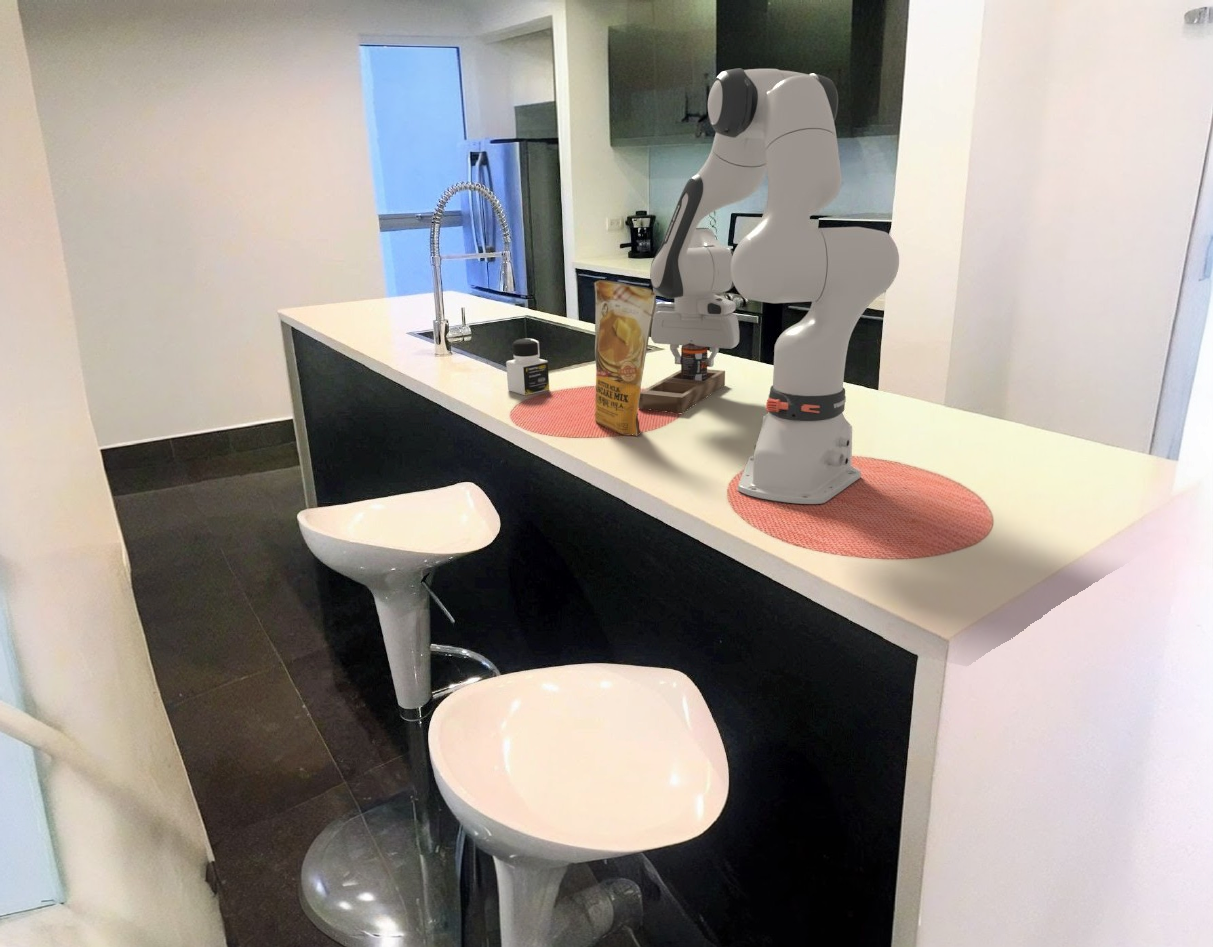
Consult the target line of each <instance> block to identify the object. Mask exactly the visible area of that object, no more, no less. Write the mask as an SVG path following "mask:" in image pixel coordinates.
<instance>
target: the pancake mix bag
mask: <svg viewBox="0 0 1213 947" xmlns="http://www.w3.org/2000/svg"><path fill="white" fill-rule="evenodd" d="M593 287H594V303H595V304H594V310H595V316H594V317H595V318H594V319H595V320H594V323H595V324H594V333H595V335H594V336H595V337H594V338H595V339H594V356H595V372H596V374H595V395H594V396H595V398H594V399H595V400H594V401H595V404H594V405H595V410H594V411H595V412H594V418H595V419H594V421H595V422H596V423H597V424H599V425H601V426H603V427H604V426H605V428H607V429H608V428H609V429H608V430H611V431H613V430H614V431H613V432H615V433H616V432H618V433H617V434H619V433H620V434H619V435H621V434H624V435H623V436H627V435H626V434H633V435H632V436H634V435H635V436H636V437H638V436H639V435H640V434H641V433H640V432H641V429H640V421H639V418H638V415H639V414H638V412H639V411H638V410H639V409H638V404H639V398H640V392H641V389H642V388H641V387H642V381H643V375H644V368H645V363H646V356H647V351H648V347H649V340H650V335H651V329H652V322H653V315H654V312H655V306H656V304H657V297H656V296H657V294H655V292H654V291H653V289H651V288H648V287H644V286H636V285H633V284H632V285H631V284H627V283H625V282H624V283H623V282H619V281H612V280H603V279H602V280H601V279H599V280H597V281H595V282H593ZM656 307H657V306H656ZM639 433H640V434H639ZM638 434H639V435H638ZM635 436H634V437H635Z"/></svg>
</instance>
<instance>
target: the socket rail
mask: <svg viewBox="0 0 1213 947" xmlns="http://www.w3.org/2000/svg"><path fill="white" fill-rule="evenodd" d="M724 385H725V386H726V371H725V370H721V369H720V370H718V369H708V368H707V379H706V380H705V381H698V380H687V379H681V369H680V370H678V371H676V372H674V373H673V374H670V375H669V376H667V377H665V378H664V379H661V380H660V381H658V382H656V383H654V384H652V385H651V386H649V387H647V388H645V389H644V390H642V391H641V390H640V398H639V404H638V408H640V409H639V410H642V409H651V410H657V411H656V412H660V411H667V412H666V413H669V412H673V413H672V414H678V413H682V414H684V413H685V412H687V411H688V410H690V409H691V408H693V407H694V406H696V405H697V404H699V403H701V402H702V401H704V400H705V399H707V398H708V397H710V396H711V395H712V393H713V392H714V393H716V392H717V391H719V390H720V389H722V388H723V387H725V386H724ZM722 386H723V387H722ZM721 387H722V388H721ZM719 388H720V389H719ZM718 389H719V390H718ZM716 390H717V391H716ZM715 391H716V392H715ZM714 393H713V394H714ZM710 394H711V395H710ZM709 395H710V396H709ZM707 396H708V397H707ZM706 397H707V398H706ZM703 399H704V400H703ZM695 404H696V405H695ZM693 405H694V406H693ZM692 406H693V407H692ZM690 407H691V408H690ZM689 408H690V409H689ZM687 409H688V410H687ZM651 410H650V411H651ZM683 412H684V413H683Z"/></svg>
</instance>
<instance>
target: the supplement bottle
mask: <svg viewBox="0 0 1213 947" xmlns="http://www.w3.org/2000/svg"><path fill="white" fill-rule="evenodd" d="M708 348H709V347H700V346H696V345H694V344H691V343H689V344H686V345H681V348H680V349H681V350H680V351H681V352H680V355H681V364H680V370H681V379H687V380H698V381H705V380H706V379H707V369H708V367H706V366H705V359H706V358H708Z"/></svg>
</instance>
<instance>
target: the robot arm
mask: <svg viewBox="0 0 1213 947" xmlns="http://www.w3.org/2000/svg"><path fill="white" fill-rule="evenodd" d="M838 109H839V94H838V90H837V87H836V86H835V83H834V81H833V80H831V79H830V78H829V77H827V76H824V75H821V74H817V73H809V74H808V73H803V72H796V71H791V70H782V69H778V68H754V69H753V68H751V69H749V68H748V69H743V68H733V69H731V68H730V69H727V70H724V71H721V72H720V73H719V74H718V75H717V76H716V78H715V79H714V80H713V82H712V84H711V86H710V90H709V94H708V99H707V112H708V114H707V115H708V116H707V117H708V121H709V125H710V126H711V128H713V131H714V132H715V135H714V137H713V142H712V146H711V150H710V152H709V155H708V158H707V159H706V161H705V163H704V164H703V165H702V166H701V168H700V170H698V172H696V174H695V175H693V176H692V177H690V178H689V179H688V181H687V182H686V183H685V185H684V187H683V190H682V192H681V195H680V197H679V199H678V202H677V205H676V206H675V209H674V212H673V214H672V216H671V219H670V221H669V224H668V228H667V230H666V233H665V235H664V238H663V240H662V243H661V245H660V247H659V249H658V250H657V251H656V254H655V255H654V257H653V259H652V261H651V264H650V269H649V272H650V273H649V276H650V277H649V278H650V283H651V286H652V288H653V289H654V290H655V291H656V292H657V293H658V294H659V295H661V297H663V298H665V299H666V300H672V299H674V302H663V301H660V302H657V303H656V306H655V312H654V315H653V319H652V323H651V328H650V338H651V341H652V342H653V344H658V345H669V350H670V352H671V354H672V355H673V357H674V364H675V365H681V353H680V352H679V348H680V346H682V345H686V344H689V343H691V344H694V345H696V346H700V347H707V348H709V353H711V354H710V355H709V357H707V358H706V359H705V366H706V367H707V368H712V367H713V366H714V364H715V362H714V361H715V357H716V356H717V354H719V351H720V349H733V348H735V347H737V345H738V344H739V343H740V327H739V319H738V317H737V315H736V314H735V313H734V311H736V309H737V308H736V306H737V305H736V303H735V301H733V300H730V299H727V298H724V297H722V296H720V295H717V294H721V293H725V292H728V291H730V290H731V289H733V287H735V289H736V291H737V292H738V293H739V294H740V295H741V297H743V299H745V300H751V301H754V302H755V301H756V302H763V303H769V304H786V303H788V304H789V303H806V302H811V305H810V308H809V310H808V312H807V313H806V314H805V316H803V318H802V319H801V320H800V321H799V322H797V323H795V324H793V325H791V326H790V327H788V328H786V329H785V330H784V331H783V332H782V333H781V334H780V335H779V337H777V339H776V342H775V344H774V350H773V352H774V356H773V375H772V376H773V377H772V385H771V386H770V389H769V394H768V398H767V400H766V404H765V409H766V411H767V412H768V413H766V414H764V415H763V417H762V424H761V428H760V431H759V435H758V438H757V441H756V443H755V445H754V452H753V455H750V456H749V457H748V458H747V461H746V464H745V467H744V469H743V471H742V474H741V476H740V478H739V481H738V485H737V491H738V492H740V493H742V494H744V495H747V496H751V497H755V498H758V499H763V500H768V501H773V502H782V503H788V504H790V503H791V504H803V505H818V504H821V505H822V504H824V503H825V504H826V503H827V502H828V501H830V500H831V499H832V498H833V497H835V496H836V495H838V494H839V493H841V492H842V491H844V490H845V489H846V488H847V487H849V486H851V485H852V484H853V483H854V482H856V481H858V480H859V479H861V477H862V476H861V475H862V471H861V470H860V469H859V468H857V467H855V466H852V458H853V456H852V454H853V425H852V424H851V423H850V422H849V421H848V420H847V419H846V417H845V414H844V413H843V412H844V411H845V408H846V407H845V406H846V397H847V396H846V389H845V388H844V379H845V378H844V377H845V368H846V361H847V354H848V347H849V344H850V343H849V341H850V339H851V336H852V333H853V331H854V330H855V327H856V325H857V323H858V322H859V319H860V318H861V316H862V315H863V314H864V312H865V310H867V309H868V308H869V306H870V305H871V304H872V303H873V302H874V301H876V299H877V298H879V297H880V296H882V294H884V293H885V292H886V291H888V289H889V288H890V287H891V285H892V284H893V283H894V281H895V279H896V277H897V274H898V271H899V269H900V268H899V266H900V254H899V249H898V247H897V244H896V242H895V240H894V239H893V238H892V236H891V235H890V234H889V233H888V232H886V231H883V230H880V229H879V230H878V229H874V228H867V227H862V226H846V227H845V226H841V227H840V226H839V227H813V226H812V224H811V219H810V218H811V216H813V215H815V214H816V213H819V212H820V211H823V210H824V209H825V208H826V207H828V206H829V205H831V203H832V202H834V201H835V199H836V198H837V197H838V195H839V193H840V190H841V187H842V183H843V180H842V179H843V176H842V170H841V162H840V155H839V154H840V153H839V152H840V151H839V145H838V144H839V143H838V137H837V131H836V126H835V121H836V118H837V115H838ZM766 176H767V177H766ZM765 177H766V178H767V200H766V204H765V209H764V211H763V214H762V215H761V216H762V217H761V218H760V219H759V222H758V223H757V225H755V227H754V228H753V229H752V230H751V231H750V232H749V233H747V234H746V235H745V236H744V237H743V238H742V239H741V240H740V241H739V243H738V244H737V245H736V247H735V249H734V251H733V250H732V249H731V248H729V247H725V246H724V245H722V244H721V243H719V241H718V240H716V237H715V235H714V230H712V229H711V228H709V227H698V226H699V224H700V223H701V221H702V220H703V219H705V218H706V217H707V216H708V215H710V214H711V213H713V212H716V211H717V210H719V209H722V208H725V207H727V206H730V205H733V204H737V203H739V202H741V201H743V200H745V199H746V200H747V198H749V197H750V196H752V195H753V194H754V193H755V192H756V191H758V190H759V188H760V186H761V185H762V184H763V181H764V180H765Z"/></svg>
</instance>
